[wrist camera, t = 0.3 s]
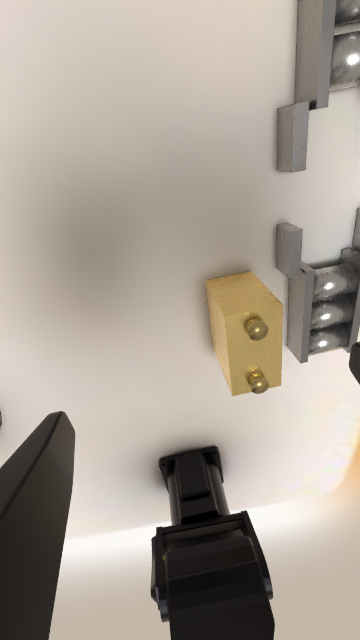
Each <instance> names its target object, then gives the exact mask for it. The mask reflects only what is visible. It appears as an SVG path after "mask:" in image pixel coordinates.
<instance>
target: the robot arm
mask: <svg viewBox="0 0 360 640" xmlns="http://www.w3.org/2000/svg"><path fill="white" fill-rule="evenodd" d="M349 367H350V370H351V372H352V374H353V375H354V377H355V378H356V380H357V381H358V383H359V384H360V342H356V343H354V344H353V345H352V346H351V353H350V360H349ZM74 450H75V431H74V428H73V426H72V424H71V422H70V421H69V419H68V417H67V415H66V413H65V412H63V411H59V412H54V413H51V414H49V415H48V416H47V417H46V418H45V419H44V420H43V421H42V422H41V423H40V424H39V426H38V427H37V428H36V429H35V430H34V431H33V432H32V433H31V435H30V436H29V437H28V438H27V439H26V440H25V441H24V442H23V443H22V445H21V446H20V447H19V448H18V449H17V450H16V451H15V452H14V453H13V455H12V456H11V457H10V458H9V459H8V460H7V461H6V462H5V464H4V465H3V466H2V467H1V468H0V640H48V639H49V633H50V626H51V620H52V613H53V608H54V601H55V595H56V589H57V582H58V576H59V569H60V563H61V557H62V551H63V544H64V538H65V532H66V526H67V519H68V513H69V507H70V500H71V494H72V486H73V470H74ZM159 467H160V470H161V473H162V476H163V478H164V481H165V484H166V487H167V490H168V493H169V500H170V510H171V521H172V526H168V527H157V528H156V536H155V537H153V538H152V575H151V597H152V598H153V600H154V601H156V603H157V604H158V609H159V610H160V614H161V619H162V622H167V621H169V622H170V632H171V633H170V634H171V640H273V638H274V629H275V623H274V618H273V614H272V610H271V607H270V602H269V600H270V599H272V598H273V591H272V584H271V579H270V575H269V571H268V567H267V563H266V560H265V557H264V554H263V551H262V549H261V546H260V544H259V541H258V539H257V536H256V533H255V531H254V528H253V526H252V523H251V521H250V518H249V515H248V513H247V511H241V513H236V514H231V515H230V513H229V509H228V505H227V501H226V497H225V493H224V490H223V486H222V483H223V474H222V468H221V461H220V455H219V450H218V448H217V447H211V448H207V449H202V450H198V451H193V452H189V453H184V454H180V455H175V456H171V457H167V458H162V459H160V460H159Z"/></svg>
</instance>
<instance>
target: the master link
mask: <svg viewBox="0 0 360 640" xmlns="http://www.w3.org/2000/svg"><path fill="white" fill-rule="evenodd" d="M205 283H206V291H207V299H208V306H209V314H210V322H211V329H212V337H213V345H214V351H215V353H216V356H217V358H218V361H219V364H220V366H221V369H222V371H223V374H224V376H225V379H226V381H227V384H228V386H229V389H230V391H231V394H232V396H235V395H240V394H244V393H249V392H254V393H256V394H259V393H263V392H265V391H266V390H267V389H268V388H272V387H276V386H281V366H282V317H283V304H282V303H281V302H280V301H279V300H278V299H277V298H276V297H275V296H274V295H273V294H272V293H271V292H270V291H269V290H268V289H267V287H266V286H265V285H264V284H263V283H262V282H261V281H260V280H259V279H258V278H257V277H256V276H255V275H254V274H253V273H252V272H251V271H250V272H245V273H240V274H236V275H231V276H226V277H221V278H217V279H212V280H207V281H205Z"/></svg>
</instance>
